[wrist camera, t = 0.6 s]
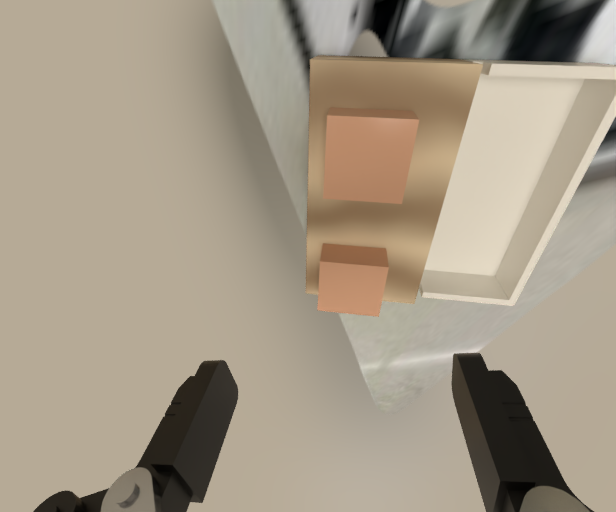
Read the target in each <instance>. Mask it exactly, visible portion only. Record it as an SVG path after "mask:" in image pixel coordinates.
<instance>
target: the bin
mask: <svg viewBox="0 0 616 512" xmlns="http://www.w3.org/2000/svg"><path fill="white" fill-rule="evenodd" d="M462 60H465V61H470V62H475V63H479V64H483V67H482V70H481V74H480V77H479V81H478V84H477V88H476V91H475V95H474V98H473V102H472V105H471V109H470V112H469V116H468V119H467V122H466V126H465V129H464V133H463V136H462V140H461V143H460V147H459V150H458V154H457V157H456V161H455V164H454V168H453V171H452V175H451V178H450V181H449V185H448V188H447V192H446V195H445V199H444V202H443V206H442V209H441V213H440V216H439V220H438V223H437V227H436V230H435V234H434V237H433V240H432V244H431V247H430V251H429V254H428V258H427V261H426V265H425V268H424V272H423V275H422V279H421V282H420V286H419V289H420V293H421V297H425V298H436V299H447V300H457V301H468V302H478V303H489V304H499V305H510V306H514V304H515V303H516V301H517V299H518V297H519V295H520V293H521V291H522V290H523V288H524V286H525V284H526V282H527V280H528V278H529V277H530V275H531V273H532V271H533V269H534V267H535V265H536V263H537V262H538V260H539V258H540V256H541V254H542V252H543V250H544V249H545V247H546V245H547V243H548V241H549V239H550V237H551V236H552V234H553V232H554V230H555V228H556V226H557V224H558V223H559V221H560V219H561V217H562V215H563V213H564V211H565V210H566V208H567V206H568V204H569V202H570V200H571V198H572V196H573V195H574V193H575V191H576V189H577V187H578V185H579V183H580V182H581V180H582V178H583V176H584V174H585V172H586V170H587V169H588V167H589V165H590V163H591V161H592V159H593V157H594V156H595V154H596V152H597V150H598V148H599V146H600V144H601V142H602V141H603V139H604V137H605V135H606V133H607V131H608V129H609V128H610V126H611V124H612V122H613V120H614V118H615V116H616V65H610V64H600V63H575V62H540V61H504V60H469V59H462Z"/></svg>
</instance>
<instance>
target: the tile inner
mask: <svg viewBox="0 0 616 512" xmlns="http://www.w3.org/2000/svg"><path fill="white" fill-rule="evenodd" d="M418 124H419V118H418V117H417V116H416V115H415V113H414V112H413V111H404V110H381V109H358V108H335V107H330V109H329V112H328V115H327V130H326V150H325V170H324V190H323V199H335V200H350V201H364V202H379V203H393V204H402V201H403V197H404V192H405V187H406V182H407V177H408V172H409V168H410V163H411V158H412V153H413V148H414V143H415V139H416V134H417V129H418Z"/></svg>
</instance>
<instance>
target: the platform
mask: <svg viewBox="0 0 616 512" xmlns="http://www.w3.org/2000/svg"><path fill="white" fill-rule="evenodd" d="M482 67H483V64H479V63H475V62H470V61H465V60H460V59H433V58H398V57H362V56H360V57H359V56H326V55H318V56H316V57H314V58H312V59H310V99H309V151H308V202H307V255H306V258H307V259H306V293H308V294H317V295H318V291H319V271H320V258H321V252H322V245H323V243H325V244H337V245H349V246H362V247H374V248H386V251H387V258H388V265H389V269H388V274H387V279H386V284H385V288H384V293H383V298H382V301H389V302H400V303H410V304H414V303H415V299H416V296H417V292H418V289H419V286H420V282H421V279H422V275H423V272H424V268H425V265H426V261H427V258H428V254H429V251H430V247H431V244H432V240H433V237H434V234H435V230H436V227H437V223H438V220H439V216H440V213H441V209H442V206H443V202H444V199H445V195H446V192H447V188H448V185H449V181H450V178H451V175H452V171H453V168H454V164H455V161H456V157H457V154H458V150H459V147H460V143H461V140H462V136H463V133H464V129H465V126H466V122H467V119H468V116H469V112H470V109H471V105H472V102H473V98H474V95H475V91H476V88H477V84H478V81H479V77H480V74H481V70H482ZM330 107H335V108H358V109H381V110H404V111H413V112H414V113H415V115H416V116H417V117H418V118H419V124H418V129H417V134H416V139H415V143H414V148H413V153H412V158H411V163H410V168H409V172H408V177H407V182H406V187H405V192H404V197H403V201H402V204H393V203H379V202H364V201H350V200H335V199H323V190H324V170H325V150H326V130H327V115H328V112H329V109H330Z"/></svg>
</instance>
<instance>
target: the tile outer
mask: <svg viewBox="0 0 616 512" xmlns="http://www.w3.org/2000/svg"><path fill="white" fill-rule="evenodd" d="M388 269H389V265H388V258H387V251H386V248H374V247H362V246H349V245H337V244H325V243H323V245H322V252H321V258H320V271H319V291H318V310H319V311H329V312H339V313H348V314H358V315H368V316H378V317H379V313H380V308H381V303H382V298H383V293H384V288H385V284H386V279H387V274H388Z"/></svg>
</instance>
